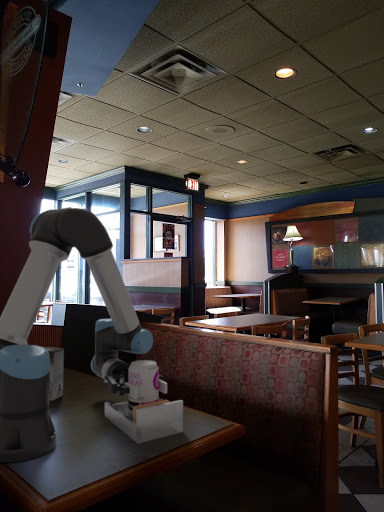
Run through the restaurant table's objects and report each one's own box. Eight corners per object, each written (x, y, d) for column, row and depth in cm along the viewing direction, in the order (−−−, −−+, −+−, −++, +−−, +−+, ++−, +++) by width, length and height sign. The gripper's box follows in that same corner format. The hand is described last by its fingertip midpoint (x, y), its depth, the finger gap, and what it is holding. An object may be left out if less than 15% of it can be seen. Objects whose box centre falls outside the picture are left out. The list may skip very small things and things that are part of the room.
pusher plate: (132, 428, 103) (133, 406, 103) (166, 420, 108) (166, 399, 108) (134, 430, 102) (135, 407, 102) (168, 422, 107) (168, 400, 108)
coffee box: (28, 398, 131) (29, 349, 132) (40, 393, 137) (41, 346, 138) (52, 401, 129) (53, 351, 130) (64, 395, 135) (64, 347, 136)
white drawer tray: (104, 416, 115) (104, 388, 116) (145, 407, 122) (145, 381, 123) (137, 443, 97) (137, 410, 97) (182, 431, 104) (183, 400, 104)
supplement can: (160, 413, 113) (160, 360, 113) (155, 424, 105) (155, 366, 105) (132, 412, 114) (132, 359, 114) (124, 423, 105) (125, 366, 106)
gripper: (147, 380, 130) (184, 398, 111) (84, 390, 118) (114, 413, 99) (147, 356, 130) (185, 371, 111) (84, 364, 119) (114, 382, 100)
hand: (151, 391), depth 105 cm, fingers closed on supplement can, 8 cm apart
